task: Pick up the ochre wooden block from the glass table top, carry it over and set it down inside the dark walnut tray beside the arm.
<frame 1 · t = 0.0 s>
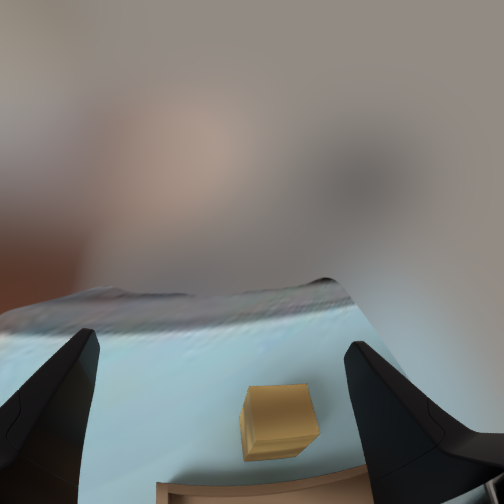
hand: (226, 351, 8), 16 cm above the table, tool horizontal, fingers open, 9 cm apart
ochre block: (266, 437, 20), on the table
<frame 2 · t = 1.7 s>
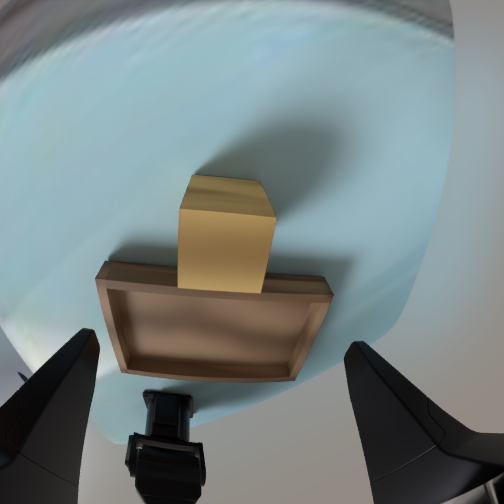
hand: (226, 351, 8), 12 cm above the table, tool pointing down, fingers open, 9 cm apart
ochre block: (222, 209, 19), on the table
walnut tray: (210, 324, 24), on the table
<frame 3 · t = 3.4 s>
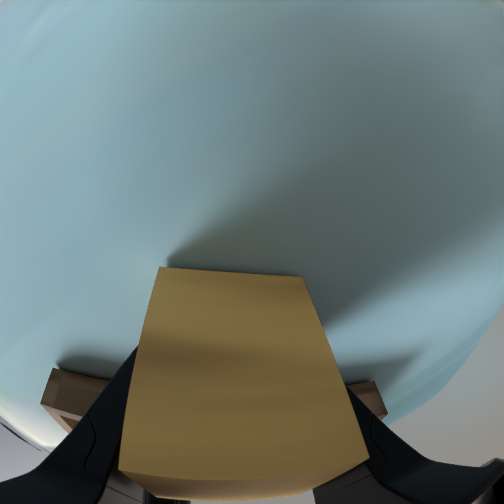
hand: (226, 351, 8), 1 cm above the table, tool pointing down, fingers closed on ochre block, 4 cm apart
ochre block: (225, 323, 10), on the table, touching gripper
walnut tray: (212, 432, 15), on the table
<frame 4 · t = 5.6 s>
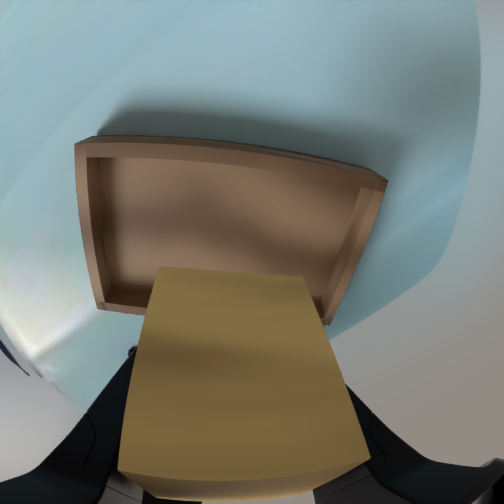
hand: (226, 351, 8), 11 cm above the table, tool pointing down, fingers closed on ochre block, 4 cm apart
ochre block: (225, 323, 9), point 9 cm above the table, touching gripper
walnut tray: (222, 232, 18), on the table
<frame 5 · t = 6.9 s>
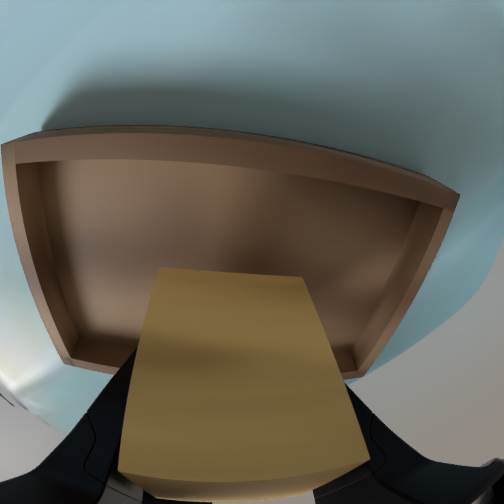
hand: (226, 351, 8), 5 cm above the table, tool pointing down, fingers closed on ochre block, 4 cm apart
ochre block: (225, 324, 9), point 3 cm above the table, touching gripper
walnut tray: (224, 268, 12), on the table
when the fingers open (3 cm above the table, at t = 7.9 s): ochre block drops 1 cm, resting on walnut tray.
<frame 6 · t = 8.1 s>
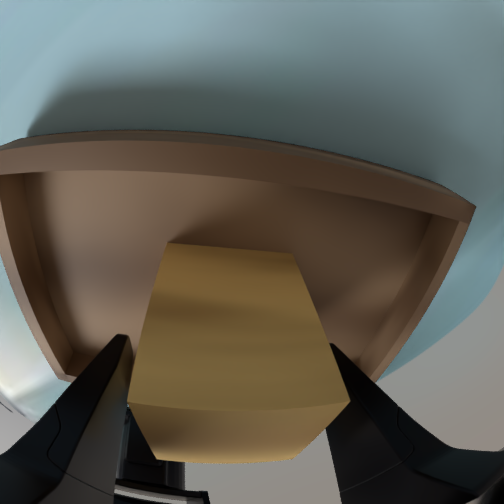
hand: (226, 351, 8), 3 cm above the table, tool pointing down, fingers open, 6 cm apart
ochre block: (224, 297, 11), point 1 cm above the table, touching walnut tray
walnut tray: (224, 284, 11), on the table
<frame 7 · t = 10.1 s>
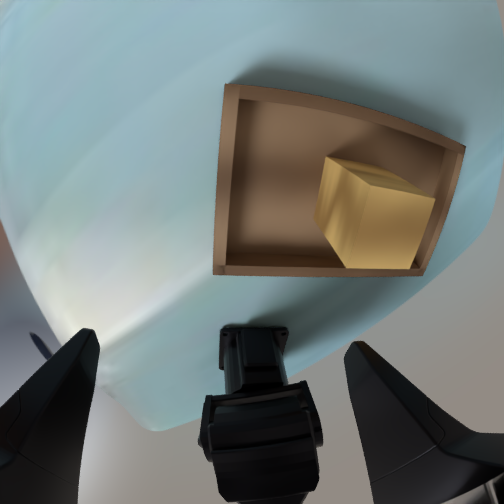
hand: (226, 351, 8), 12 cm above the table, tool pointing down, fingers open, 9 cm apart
ochre block: (348, 192, 18), point 1 cm above the table, touching walnut tray
walnut tray: (344, 188, 19), on the table
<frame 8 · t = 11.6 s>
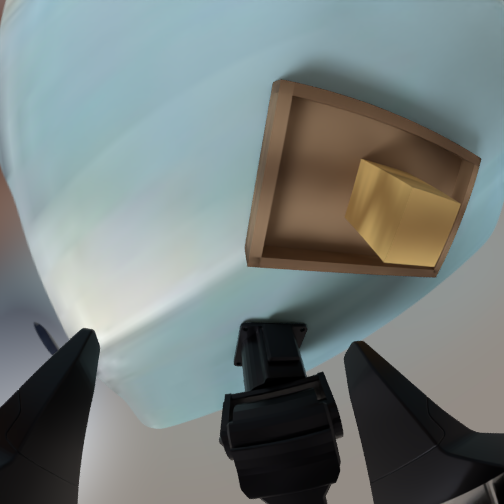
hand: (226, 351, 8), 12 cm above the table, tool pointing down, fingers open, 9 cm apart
ochre block: (378, 194, 18), point 1 cm above the table, touching walnut tray
walnut tray: (373, 190, 19), on the table
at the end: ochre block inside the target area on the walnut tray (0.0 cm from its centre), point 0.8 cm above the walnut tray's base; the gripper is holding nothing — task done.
